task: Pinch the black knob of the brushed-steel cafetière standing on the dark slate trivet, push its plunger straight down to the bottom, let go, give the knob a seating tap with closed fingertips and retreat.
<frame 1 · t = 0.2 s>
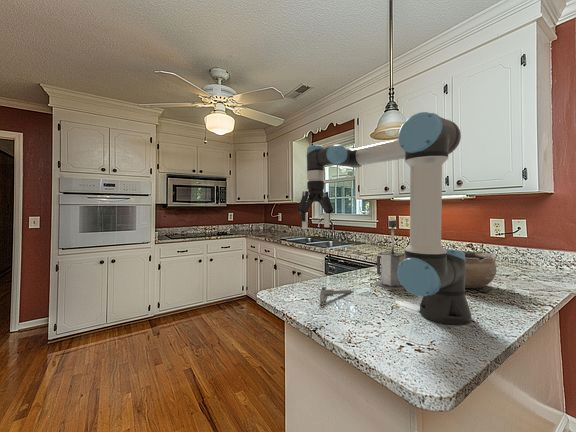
hand: (316, 228, 121), 28 cm above the worktop, fingers open, 13 cm apart
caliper: (337, 298, 112), on the worktop
plunger: (392, 239, 126), point 22 cm above the worktop, slide at 0.0 cm
trivet: (392, 285, 126), on the worktop
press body: (392, 284, 126), resting on trivet
ceramic bowl: (466, 286, 125), on the worktop
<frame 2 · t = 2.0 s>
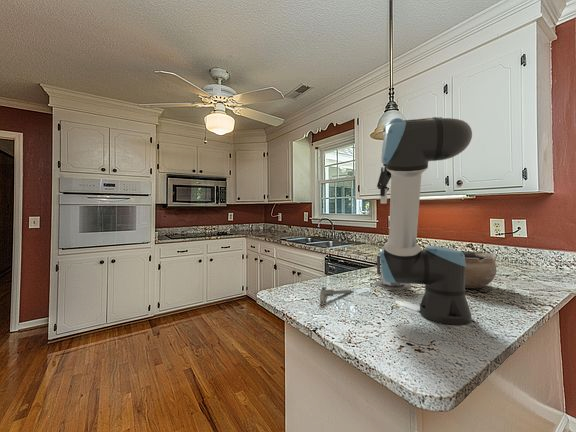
hand: (391, 203, 125), 39 cm above the worktop, fingers open, 13 cm apart
nothing on the worktop moved.
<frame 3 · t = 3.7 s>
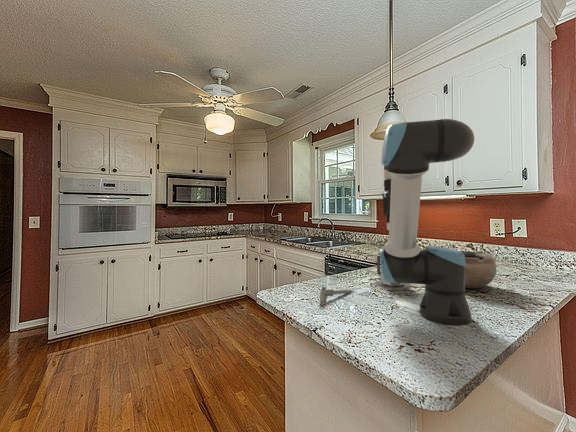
hand: (392, 229, 125), 27 cm above the worktop, fingers closed on plunger, 4 cm apart
plunger: (392, 239, 126), point 22 cm above the worktop, slide at 0.0 cm, touching gripper
everything else where it was.
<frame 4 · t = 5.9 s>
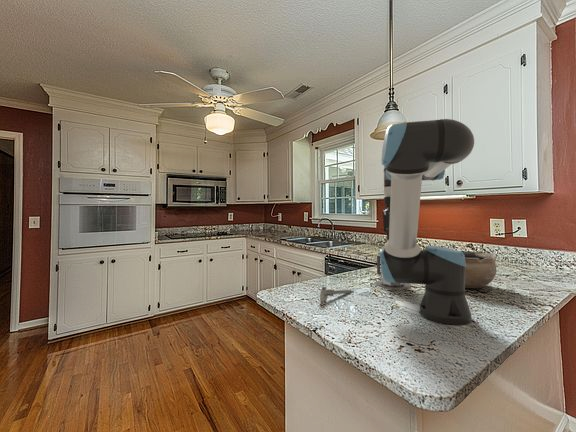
hand: (392, 246, 126), 19 cm above the worktop, fingers closed on plunger, 4 cm apart
plunger: (392, 256, 126), point 14 cm above the worktop, slide at 7.9 cm, touching gripper
everything else where it was.
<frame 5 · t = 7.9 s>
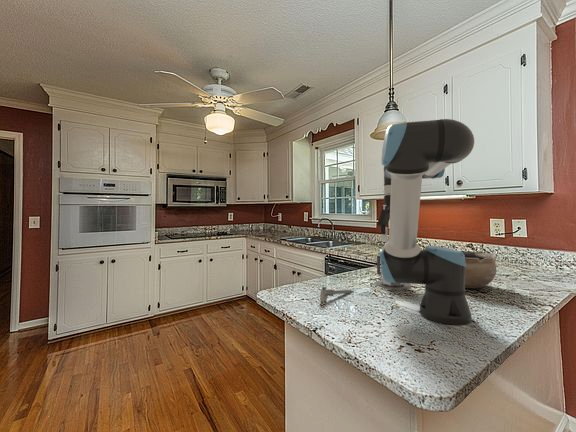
hand: (392, 240, 125), 21 cm above the worktop, fingers open, 13 cm apart
plunger: (392, 256, 126), point 14 cm above the worktop, slide at 8.0 cm
everything else where it was.
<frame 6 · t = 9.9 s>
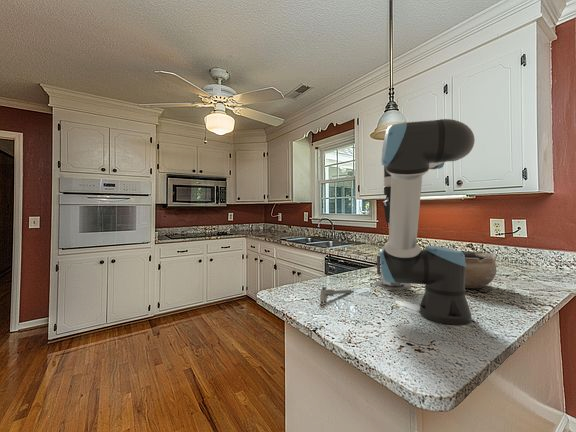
hand: (392, 237, 126), 23 cm above the worktop, fingers closed
plunger: (392, 256, 126), point 14 cm above the worktop, slide at 8.0 cm, touching gripper
everything else where it was.
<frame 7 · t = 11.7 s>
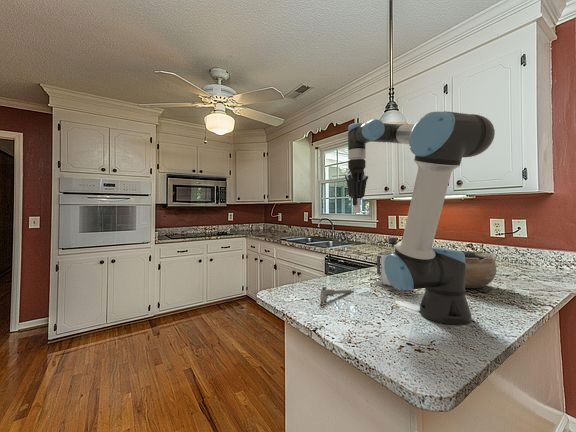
hand: (356, 212, 121), 35 cm above the worktop, fingers closed
plunger: (392, 256, 126), point 14 cm above the worktop, slide at 8.0 cm
everything else where it was.
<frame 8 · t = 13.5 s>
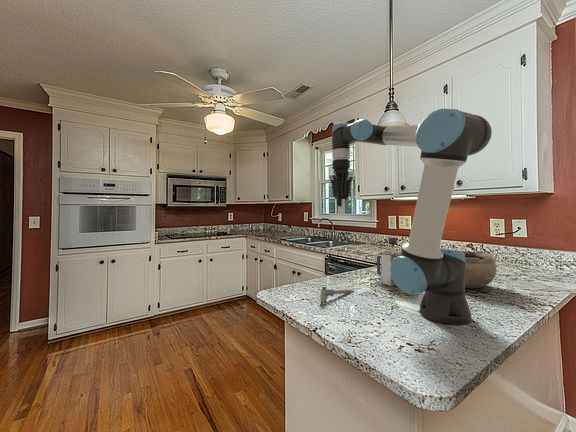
hand: (341, 213, 118), 34 cm above the worktop, fingers closed
nothing on the worktop moved.
at the end: plunger slide at 8.0 cm; the gripper is holding nothing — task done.
